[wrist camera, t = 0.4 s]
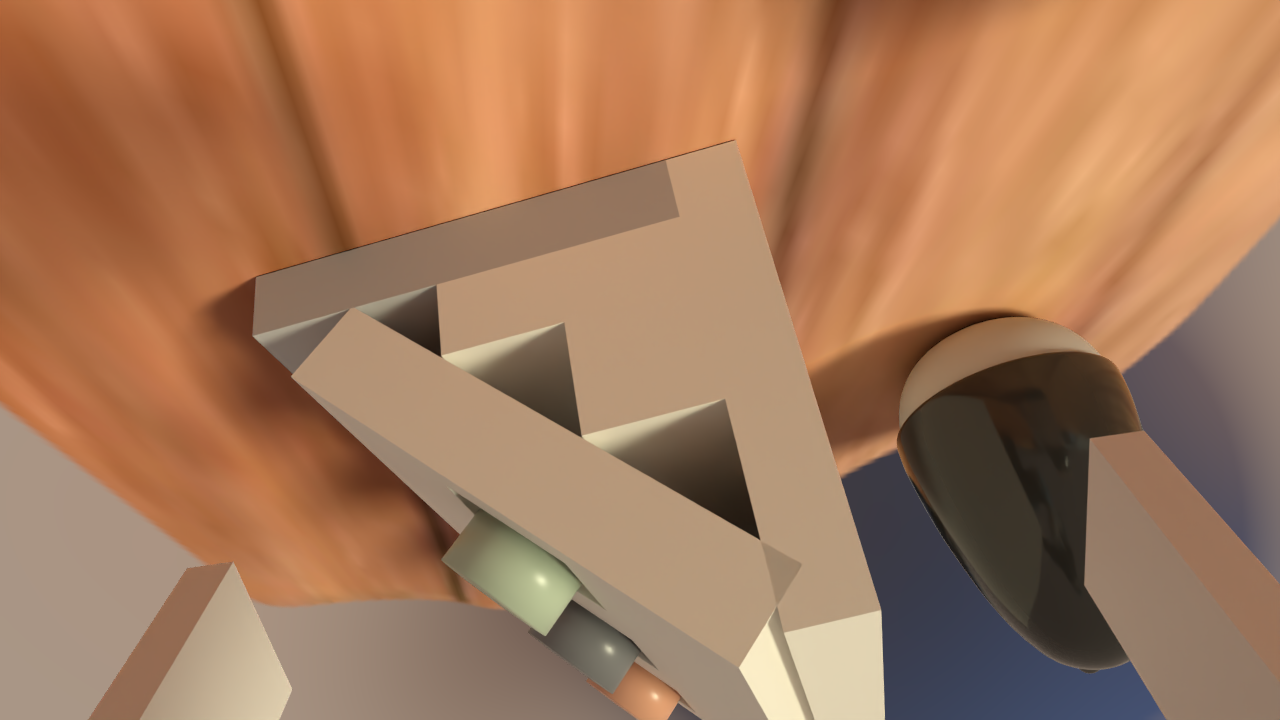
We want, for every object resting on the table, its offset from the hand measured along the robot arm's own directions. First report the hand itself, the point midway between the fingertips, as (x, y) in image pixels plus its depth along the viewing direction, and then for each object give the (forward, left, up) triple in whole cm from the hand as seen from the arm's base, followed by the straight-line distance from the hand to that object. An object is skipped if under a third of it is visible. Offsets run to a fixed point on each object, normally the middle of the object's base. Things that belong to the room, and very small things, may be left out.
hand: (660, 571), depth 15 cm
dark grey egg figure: (+28, +13, -17) cm, 36 cm away
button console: (+22, -4, -17) cm, 28 cm away
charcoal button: (+22, -6, -9) cm, 24 cm away
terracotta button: (+31, -6, -9) cm, 32 cm away
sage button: (+14, -6, -9) cm, 17 cm away
